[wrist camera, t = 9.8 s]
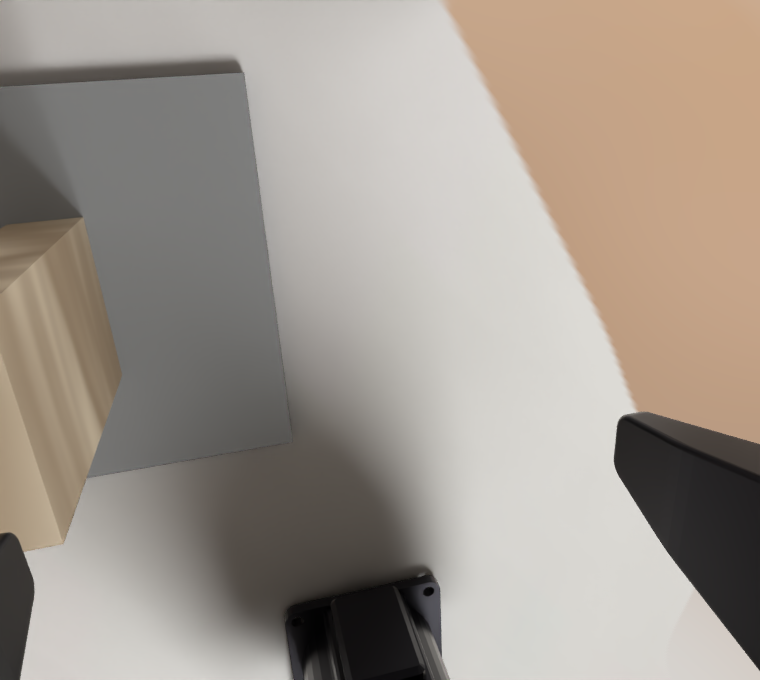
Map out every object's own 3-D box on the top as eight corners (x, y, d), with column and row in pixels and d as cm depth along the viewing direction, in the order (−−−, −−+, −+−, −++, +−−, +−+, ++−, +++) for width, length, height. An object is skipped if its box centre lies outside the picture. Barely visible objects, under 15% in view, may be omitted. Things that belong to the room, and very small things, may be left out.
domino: (83, 217, 17) (-15, 307, 10) (122, 374, 19) (63, 544, 12) (6, 224, 17) (-151, 323, 10) (54, 384, 19) (-48, 565, 12)
